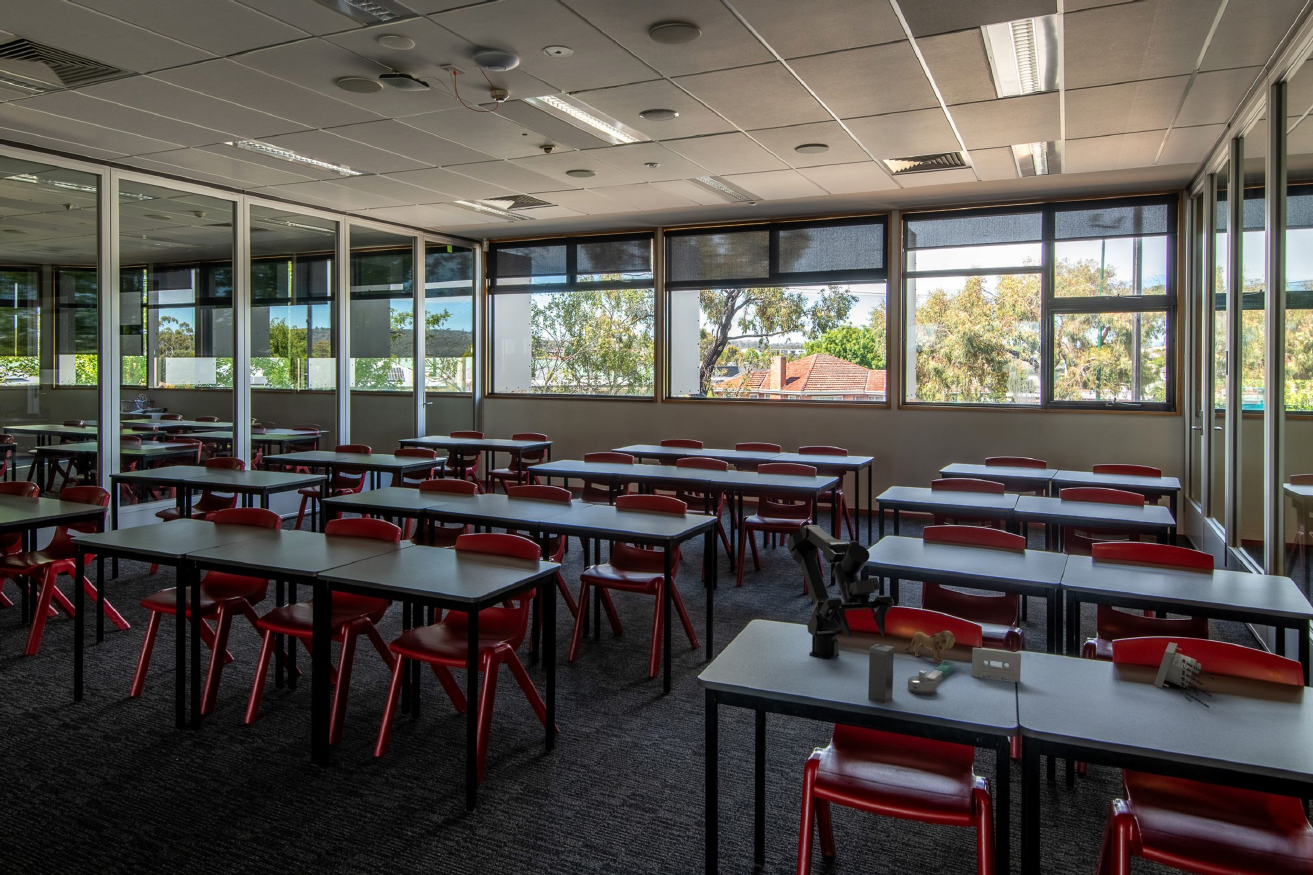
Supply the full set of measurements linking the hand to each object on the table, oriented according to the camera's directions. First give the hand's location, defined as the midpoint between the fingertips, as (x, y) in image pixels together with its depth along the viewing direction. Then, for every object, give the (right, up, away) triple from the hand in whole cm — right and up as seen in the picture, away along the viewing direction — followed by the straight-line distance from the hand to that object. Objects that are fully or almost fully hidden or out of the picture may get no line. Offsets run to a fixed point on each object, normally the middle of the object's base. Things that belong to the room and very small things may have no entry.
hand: (867, 635), depth 212 cm
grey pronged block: (+80, -15, -2) cm, 81 cm away
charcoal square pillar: (+1, -14, -7) cm, 16 cm away
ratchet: (+19, -13, +5) cm, 24 cm away
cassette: (+36, -13, +8) cm, 39 cm away
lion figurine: (+24, -12, +24) cm, 36 cm away
